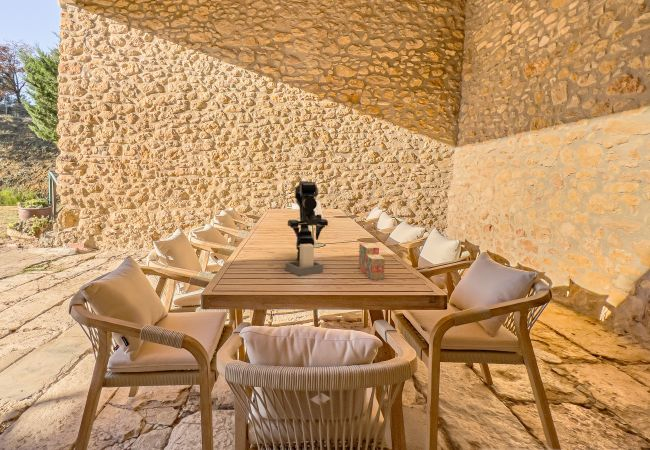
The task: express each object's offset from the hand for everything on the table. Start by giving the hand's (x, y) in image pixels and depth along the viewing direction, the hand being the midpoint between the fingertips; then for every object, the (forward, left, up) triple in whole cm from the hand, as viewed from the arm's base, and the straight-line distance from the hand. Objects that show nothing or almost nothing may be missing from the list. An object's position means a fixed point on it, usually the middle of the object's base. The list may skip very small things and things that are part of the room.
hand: (307, 240), depth 181 cm
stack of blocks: (-19, +25, -13) cm, 34 cm away
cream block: (+6, +8, -12) cm, 15 cm away
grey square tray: (+6, +6, -13) cm, 15 cm away
